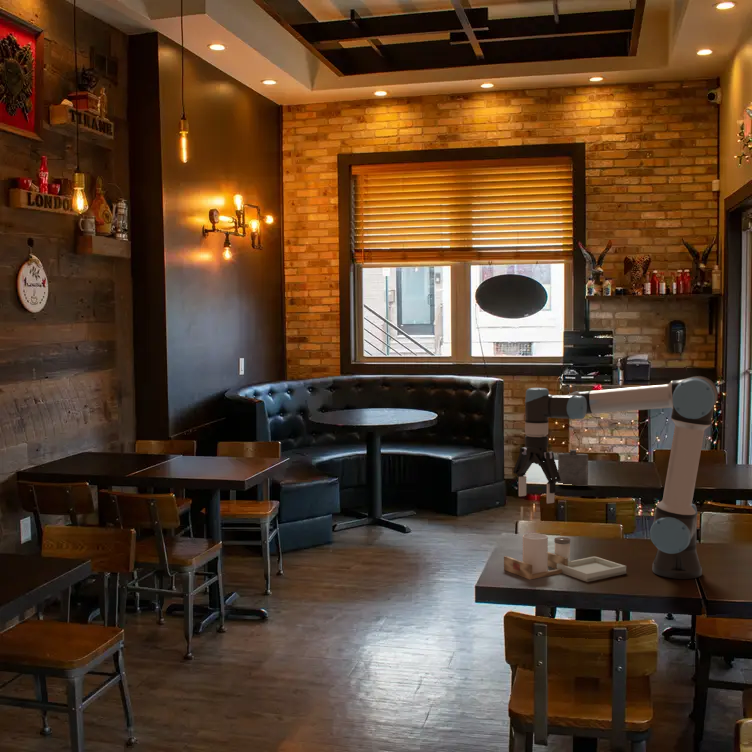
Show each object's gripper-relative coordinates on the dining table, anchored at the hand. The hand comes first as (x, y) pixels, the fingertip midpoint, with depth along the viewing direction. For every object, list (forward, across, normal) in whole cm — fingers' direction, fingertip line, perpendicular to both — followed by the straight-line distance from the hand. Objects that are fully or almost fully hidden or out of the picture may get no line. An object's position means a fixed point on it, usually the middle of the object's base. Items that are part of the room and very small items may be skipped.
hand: (536, 499), depth 296 cm
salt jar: (+23, -2, -10) cm, 25 cm away
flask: (+23, +98, -112) cm, 151 cm away
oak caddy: (+23, -2, +2) cm, 23 cm away
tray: (+23, -13, -12) cm, 29 cm away
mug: (+23, -2, +2) cm, 24 cm away
